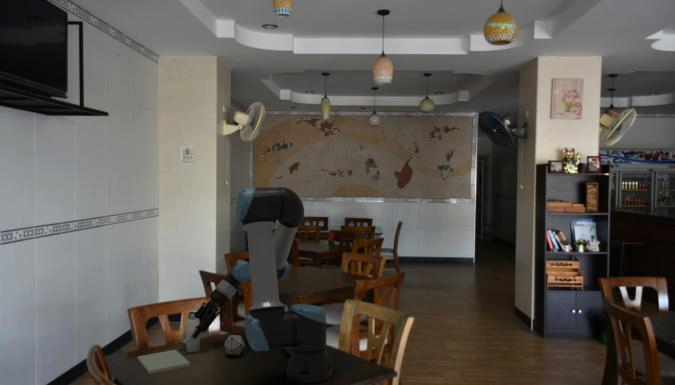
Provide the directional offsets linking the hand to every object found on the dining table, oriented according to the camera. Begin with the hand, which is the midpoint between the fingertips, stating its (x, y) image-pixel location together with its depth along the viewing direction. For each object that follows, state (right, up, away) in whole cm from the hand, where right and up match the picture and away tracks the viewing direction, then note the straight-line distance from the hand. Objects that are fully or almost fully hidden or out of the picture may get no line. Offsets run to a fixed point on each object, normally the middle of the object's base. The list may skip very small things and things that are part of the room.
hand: (183, 342), depth 201 cm
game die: (+20, -4, -4) cm, 21 cm away
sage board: (-4, -4, -12) cm, 13 cm away
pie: (+45, -4, 0) cm, 45 cm away
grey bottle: (+3, -4, +2) cm, 5 cm away
